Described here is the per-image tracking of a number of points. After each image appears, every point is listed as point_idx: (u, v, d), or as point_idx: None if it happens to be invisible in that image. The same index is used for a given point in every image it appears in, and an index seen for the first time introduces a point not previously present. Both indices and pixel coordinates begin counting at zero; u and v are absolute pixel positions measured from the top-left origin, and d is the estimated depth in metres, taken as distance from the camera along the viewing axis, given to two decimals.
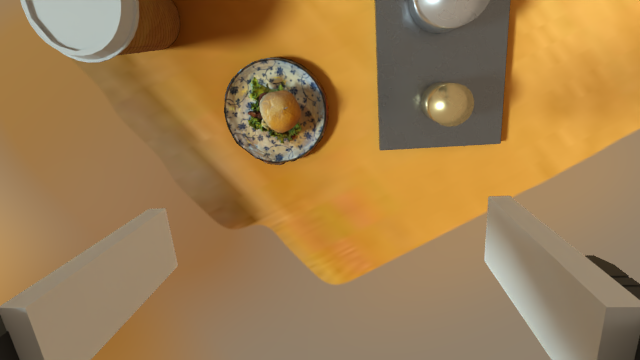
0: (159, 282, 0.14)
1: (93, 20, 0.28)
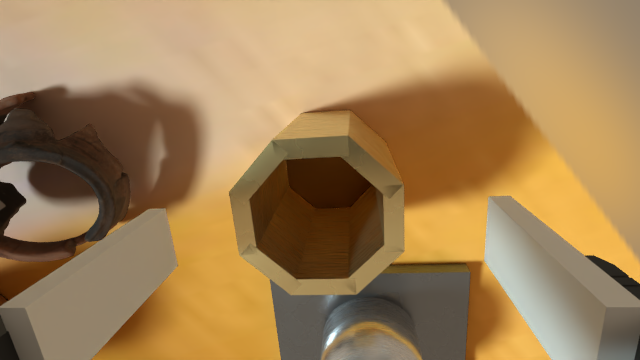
0: (159, 282, 0.14)
1: None
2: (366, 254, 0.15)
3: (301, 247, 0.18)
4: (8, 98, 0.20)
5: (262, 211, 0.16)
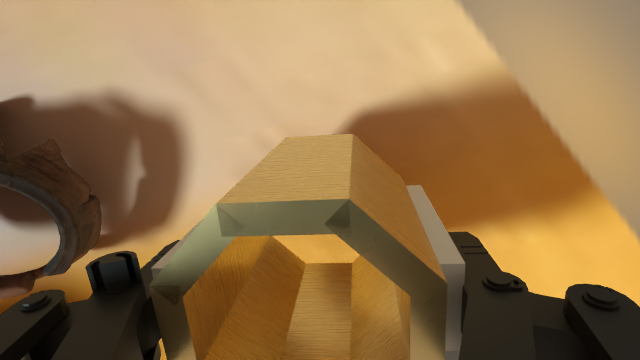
0: None
1: None
2: None
3: (279, 343, 0.12)
4: None
5: (215, 299, 0.10)
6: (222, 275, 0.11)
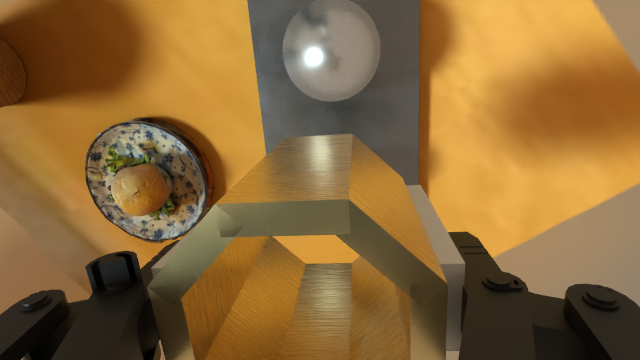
0: None
1: None
2: None
3: (279, 344, 0.12)
4: None
5: (214, 300, 0.10)
6: (221, 276, 0.11)
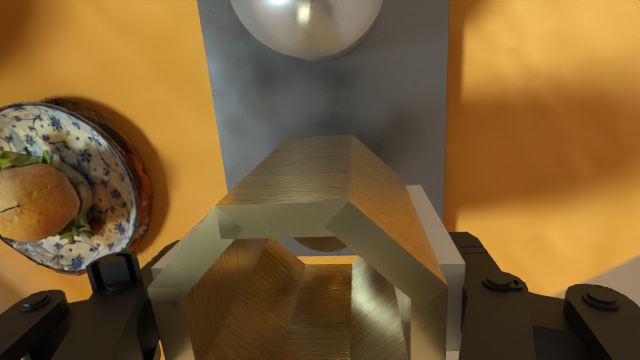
0: None
1: None
2: None
3: (279, 345, 0.12)
4: None
5: (214, 301, 0.10)
6: (221, 277, 0.11)
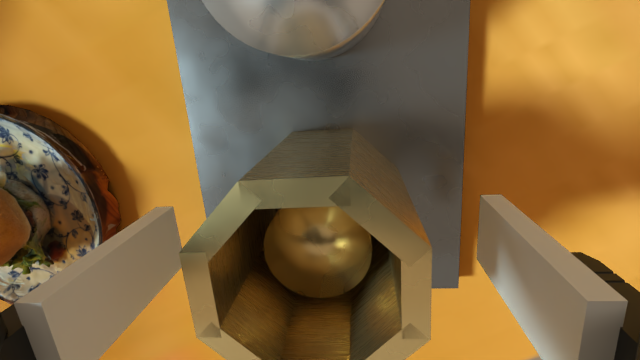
0: (167, 280, 0.14)
1: None
2: (374, 337, 0.11)
3: (287, 313, 0.13)
4: None
5: (232, 270, 0.12)
6: (237, 250, 0.12)
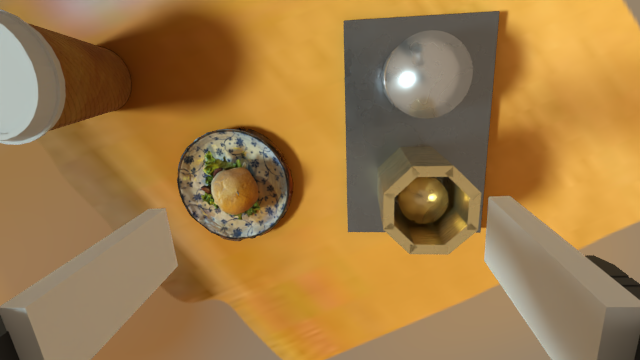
0: (159, 282, 0.14)
1: (7, 102, 0.25)
2: (454, 232, 0.27)
3: (407, 229, 0.30)
4: None
5: None
6: None
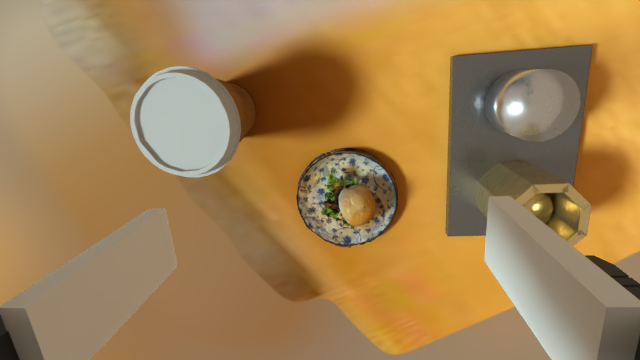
0: (159, 283, 0.14)
1: (199, 144, 0.30)
2: (564, 237, 0.32)
3: None
4: None
5: None
6: None
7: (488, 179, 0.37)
